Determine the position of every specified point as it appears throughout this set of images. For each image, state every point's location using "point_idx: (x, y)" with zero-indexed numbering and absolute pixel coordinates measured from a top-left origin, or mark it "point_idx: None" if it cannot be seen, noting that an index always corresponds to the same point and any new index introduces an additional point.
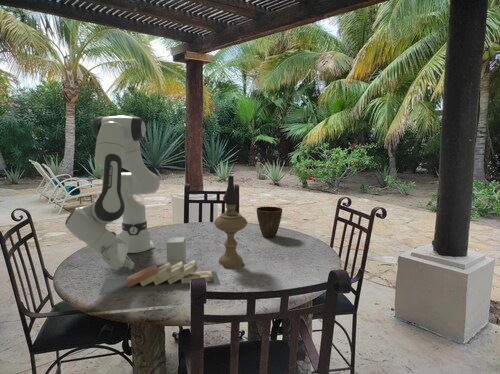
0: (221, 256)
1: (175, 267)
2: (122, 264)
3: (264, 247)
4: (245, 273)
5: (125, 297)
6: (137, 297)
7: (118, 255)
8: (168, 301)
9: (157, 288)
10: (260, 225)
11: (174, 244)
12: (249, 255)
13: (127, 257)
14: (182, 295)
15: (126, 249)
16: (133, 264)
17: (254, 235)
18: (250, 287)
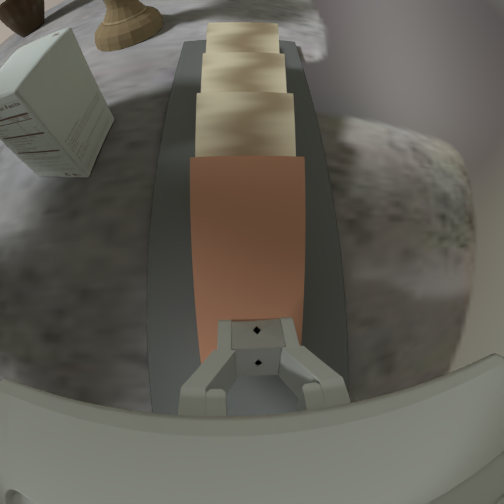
0: (111, 29)
1: (250, 82)
2: (498, 356)
3: (77, 15)
4: (212, 12)
5: (371, 341)
6: (377, 287)
7: (481, 441)
8: (403, 172)
9: (319, 200)
10: (19, 20)
11: (48, 64)
12: (101, 20)
13: (224, 396)
14: (358, 127)
15: (74, 423)
16: (266, 321)
17: (12, 48)
18: (301, 17)
